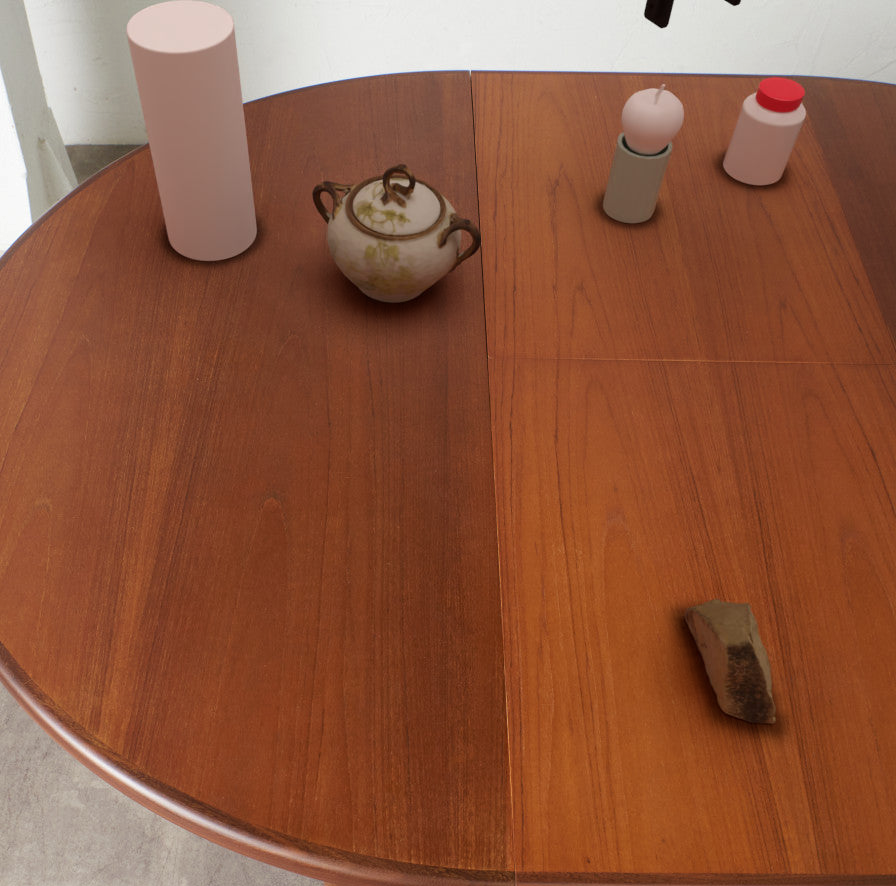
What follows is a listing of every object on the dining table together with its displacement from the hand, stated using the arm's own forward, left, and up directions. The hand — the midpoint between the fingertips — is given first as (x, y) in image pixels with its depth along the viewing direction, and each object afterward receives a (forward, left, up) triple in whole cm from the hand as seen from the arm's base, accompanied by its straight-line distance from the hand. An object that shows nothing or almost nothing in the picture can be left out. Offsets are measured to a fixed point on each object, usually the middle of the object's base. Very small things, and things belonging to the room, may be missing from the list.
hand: (691, 11), depth 99 cm
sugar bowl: (+34, -3, -25) cm, 42 cm away
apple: (+1, -1, -16) cm, 16 cm away
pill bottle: (-19, 0, -25) cm, 31 cm away
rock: (+34, +54, -25) cm, 68 cm away
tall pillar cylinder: (+49, -21, -25) cm, 59 cm away
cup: (+1, -1, -24) cm, 24 cm away
